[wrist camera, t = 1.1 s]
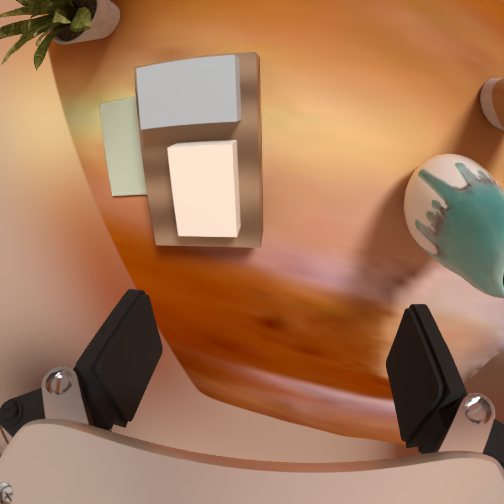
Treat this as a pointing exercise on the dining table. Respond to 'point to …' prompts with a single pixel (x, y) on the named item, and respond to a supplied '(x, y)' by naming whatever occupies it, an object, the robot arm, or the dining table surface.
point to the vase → (459, 219)
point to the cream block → (205, 188)
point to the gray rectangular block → (189, 92)
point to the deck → (242, 131)
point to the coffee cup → (493, 101)
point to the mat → (123, 147)
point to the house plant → (61, 23)
